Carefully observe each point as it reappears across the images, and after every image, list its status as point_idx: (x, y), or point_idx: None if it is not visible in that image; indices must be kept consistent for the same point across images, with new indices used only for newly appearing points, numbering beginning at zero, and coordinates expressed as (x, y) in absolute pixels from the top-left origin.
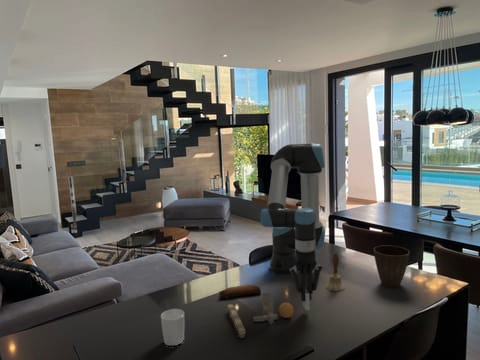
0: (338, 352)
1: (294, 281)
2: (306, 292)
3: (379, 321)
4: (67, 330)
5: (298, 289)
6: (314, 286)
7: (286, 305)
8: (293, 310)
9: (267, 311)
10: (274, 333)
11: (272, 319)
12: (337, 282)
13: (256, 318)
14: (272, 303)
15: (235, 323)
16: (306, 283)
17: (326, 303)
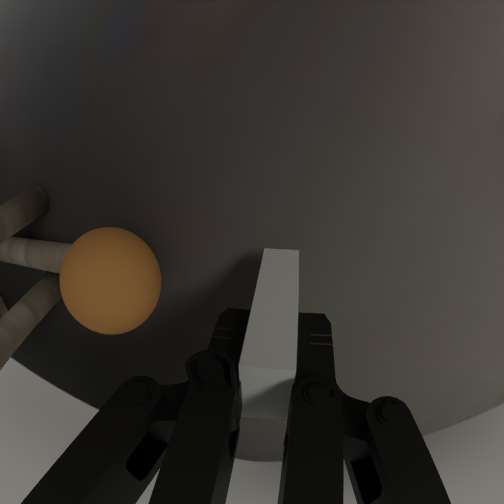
0: (258, 459)
1: (56, 493)
2: (269, 399)
3: (496, 391)
4: None
5: (136, 452)
6: (361, 484)
7: (88, 327)
8: (156, 303)
9: (26, 225)
10: (81, 344)
11: (55, 303)
12: None
13: (3, 261)
14: (6, 361)
15: None
16: (283, 484)
17: (490, 183)
